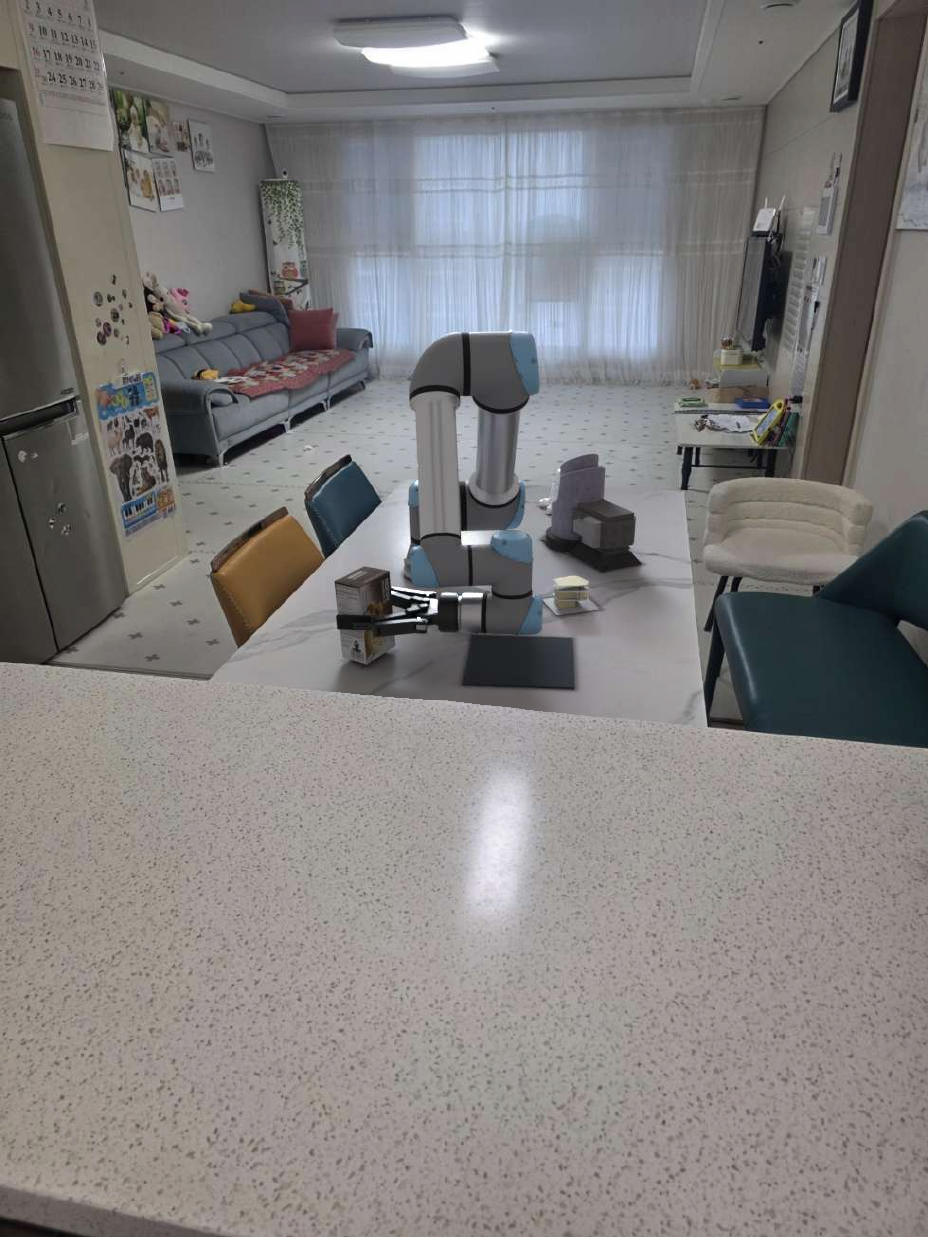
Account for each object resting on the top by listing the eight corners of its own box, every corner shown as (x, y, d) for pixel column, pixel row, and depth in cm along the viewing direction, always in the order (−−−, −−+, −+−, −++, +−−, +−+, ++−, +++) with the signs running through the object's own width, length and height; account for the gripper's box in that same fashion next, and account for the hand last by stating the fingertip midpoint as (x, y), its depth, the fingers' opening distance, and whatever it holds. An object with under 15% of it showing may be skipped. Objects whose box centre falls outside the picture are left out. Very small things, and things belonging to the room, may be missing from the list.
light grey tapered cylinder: (482, 629, 169) (482, 595, 166) (446, 624, 172) (445, 590, 169) (499, 610, 178) (500, 577, 175) (464, 605, 181) (464, 572, 178)
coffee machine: (531, 537, 221) (533, 446, 210) (582, 527, 227) (586, 439, 216) (594, 574, 196) (599, 473, 186) (649, 562, 202) (657, 464, 192)
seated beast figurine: (537, 505, 246) (538, 466, 241) (564, 503, 248) (566, 463, 243) (547, 514, 238) (549, 474, 233) (576, 512, 240) (577, 471, 234)
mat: (472, 636, 167) (472, 634, 167) (571, 638, 165) (572, 637, 165) (462, 685, 149) (462, 683, 149) (573, 688, 147) (574, 687, 147)
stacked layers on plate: (556, 615, 175) (557, 591, 173) (541, 599, 183) (542, 576, 181) (600, 609, 178) (601, 586, 175) (583, 593, 186) (584, 571, 183)
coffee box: (370, 639, 165) (365, 564, 158) (396, 646, 162) (391, 570, 155) (340, 657, 158) (333, 580, 151) (366, 665, 155) (360, 587, 148)
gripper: (453, 659, 145) (330, 654, 148) (466, 605, 166) (359, 603, 168) (452, 620, 142) (327, 617, 144) (466, 571, 163) (356, 568, 165)
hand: (344, 609), depth 156 cm, fingers closed on coffee box, 10 cm apart
